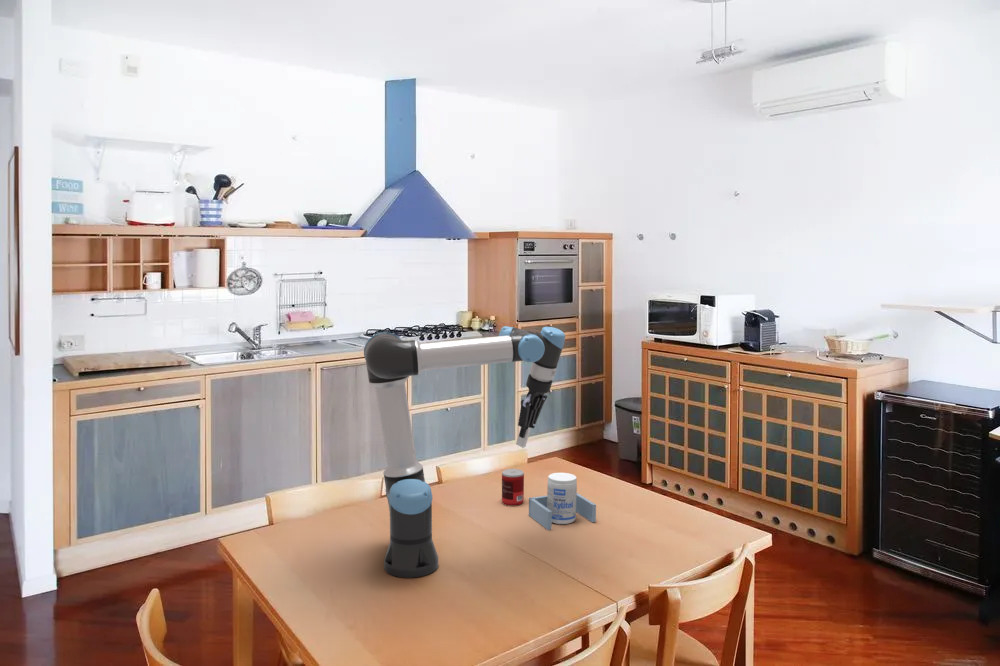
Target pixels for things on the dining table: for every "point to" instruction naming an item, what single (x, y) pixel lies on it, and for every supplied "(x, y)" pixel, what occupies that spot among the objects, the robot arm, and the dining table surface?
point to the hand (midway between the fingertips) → (520, 445)
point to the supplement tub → (562, 497)
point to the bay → (544, 515)
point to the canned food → (512, 487)
